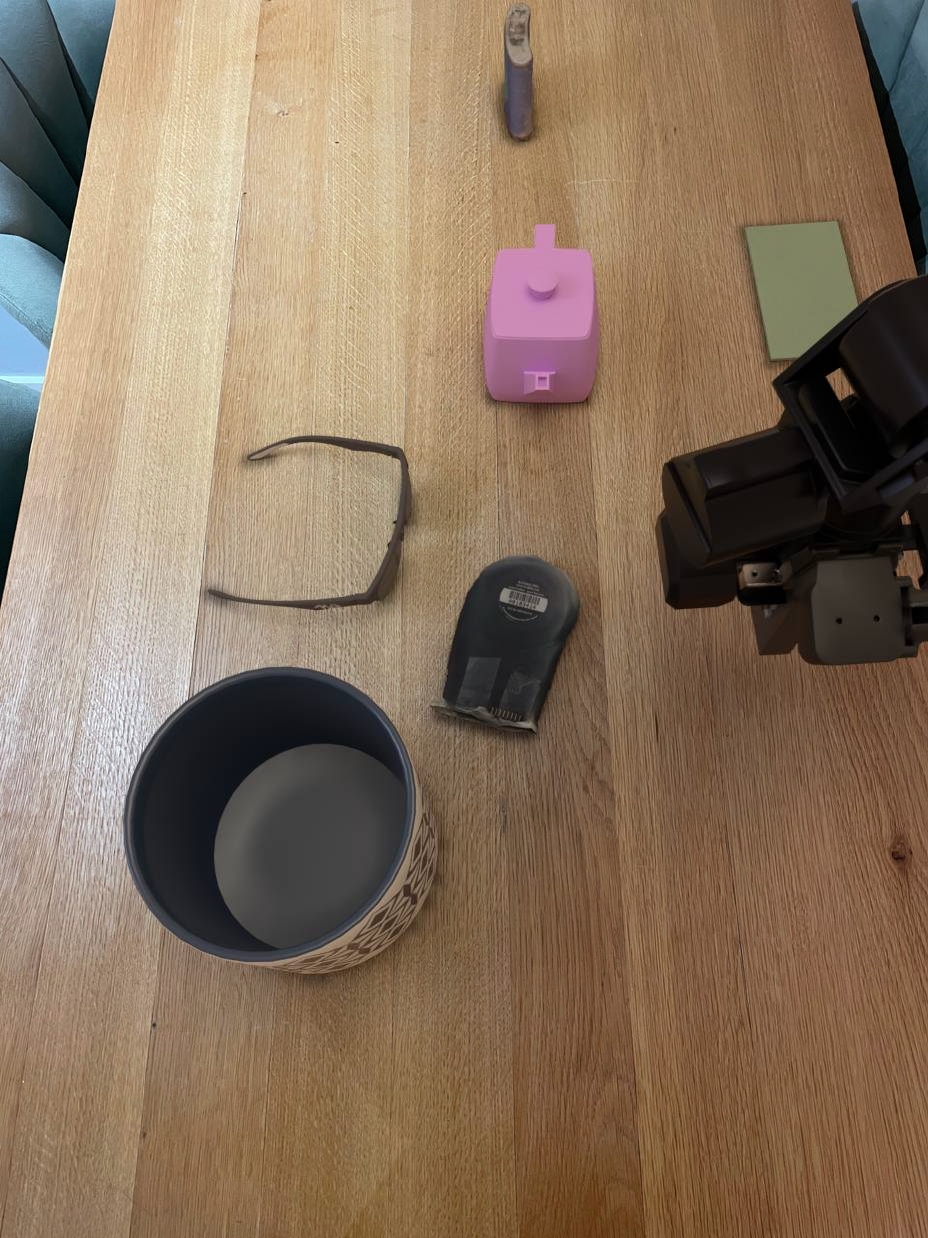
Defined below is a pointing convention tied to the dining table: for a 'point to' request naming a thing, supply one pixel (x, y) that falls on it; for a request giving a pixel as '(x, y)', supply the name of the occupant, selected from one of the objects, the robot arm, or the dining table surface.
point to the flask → (518, 72)
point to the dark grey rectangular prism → (776, 627)
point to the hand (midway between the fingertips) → (783, 601)
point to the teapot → (541, 323)
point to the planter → (281, 823)
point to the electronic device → (509, 643)
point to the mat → (799, 284)
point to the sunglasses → (393, 555)
